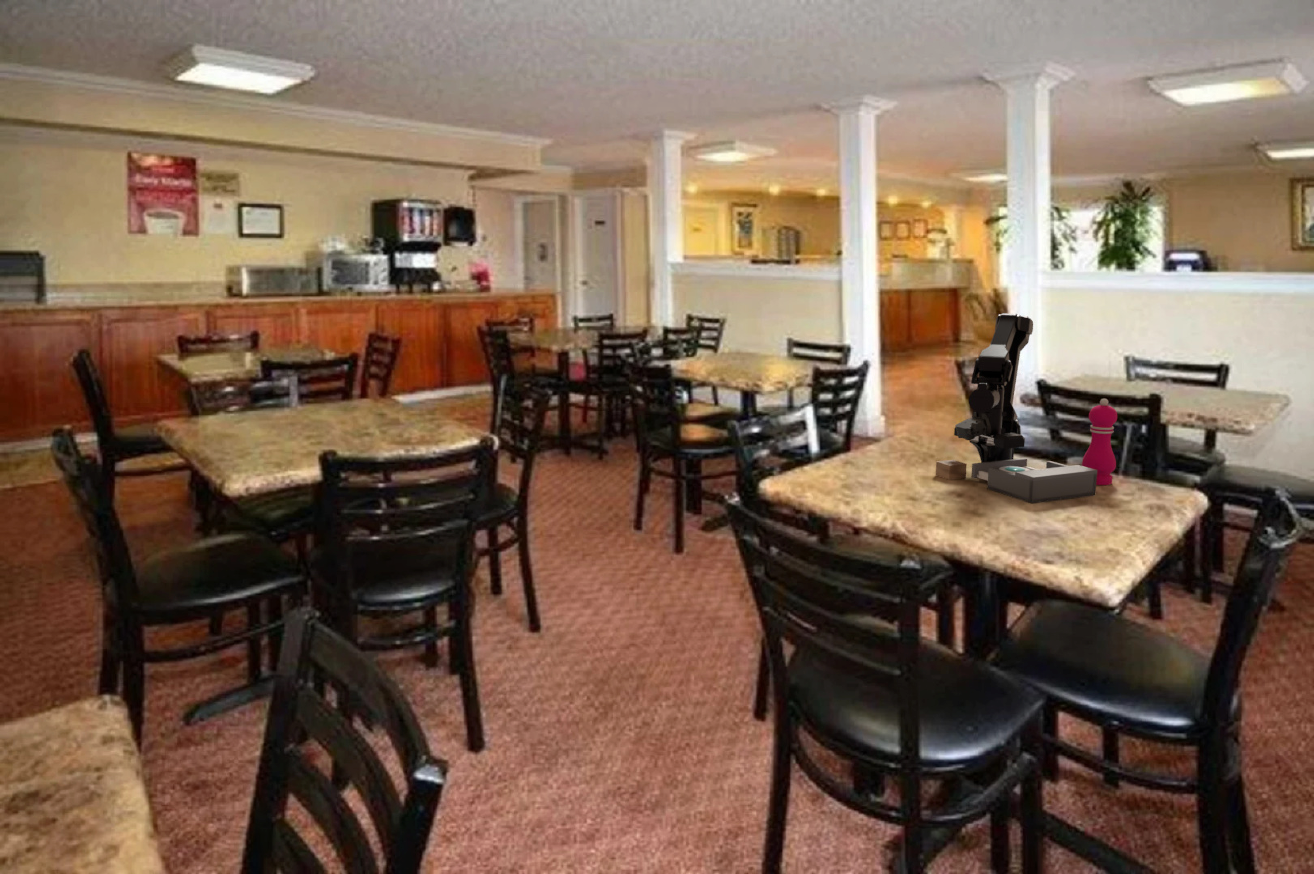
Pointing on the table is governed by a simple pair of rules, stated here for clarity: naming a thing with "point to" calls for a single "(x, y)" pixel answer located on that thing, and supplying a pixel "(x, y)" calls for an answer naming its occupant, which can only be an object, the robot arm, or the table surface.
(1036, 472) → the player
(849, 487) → the table surface
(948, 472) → the block
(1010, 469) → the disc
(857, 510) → the table surface
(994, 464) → the tray
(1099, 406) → the pepper mill
